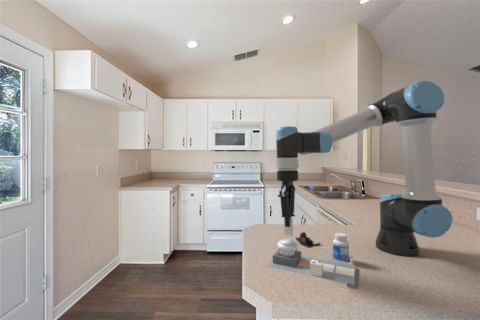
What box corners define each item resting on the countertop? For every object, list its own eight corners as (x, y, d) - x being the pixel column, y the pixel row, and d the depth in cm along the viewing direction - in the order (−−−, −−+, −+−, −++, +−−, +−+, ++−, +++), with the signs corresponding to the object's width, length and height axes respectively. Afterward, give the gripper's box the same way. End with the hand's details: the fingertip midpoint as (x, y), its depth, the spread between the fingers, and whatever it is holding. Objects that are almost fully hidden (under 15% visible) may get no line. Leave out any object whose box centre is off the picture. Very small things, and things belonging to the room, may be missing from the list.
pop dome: (299, 254, 86) (299, 240, 86) (294, 261, 80) (294, 246, 80) (280, 251, 89) (280, 237, 89) (274, 257, 83) (274, 242, 83)
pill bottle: (330, 257, 89) (330, 232, 89) (343, 257, 90) (343, 231, 90) (337, 264, 84) (337, 236, 84) (351, 263, 84) (351, 236, 84)
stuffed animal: (326, 245, 100) (307, 232, 96) (315, 266, 98) (295, 253, 94) (309, 236, 111) (291, 224, 107) (299, 255, 109) (280, 243, 105)
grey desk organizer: (355, 268, 80) (355, 254, 80) (354, 288, 68) (354, 271, 68) (279, 254, 93) (279, 242, 93) (267, 268, 80) (267, 255, 80)
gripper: (282, 169, 92) (283, 229, 92) (271, 170, 81) (272, 239, 81) (301, 169, 89) (303, 231, 89) (293, 170, 77) (294, 242, 77)
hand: (288, 234), depth 85 cm, fingers closed
